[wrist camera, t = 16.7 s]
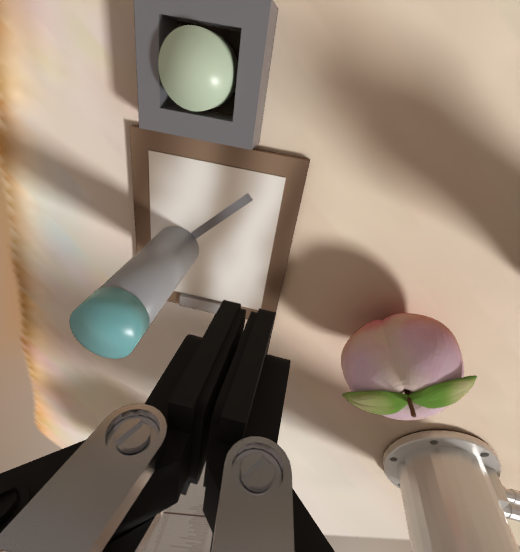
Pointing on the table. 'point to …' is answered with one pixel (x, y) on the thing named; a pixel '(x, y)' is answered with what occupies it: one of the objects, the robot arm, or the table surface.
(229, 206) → the clipboard
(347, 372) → the decorative fruit
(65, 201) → the table surface
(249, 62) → the button housing
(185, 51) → the button
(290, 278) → the table surface
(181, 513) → the supplement box
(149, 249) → the marker
